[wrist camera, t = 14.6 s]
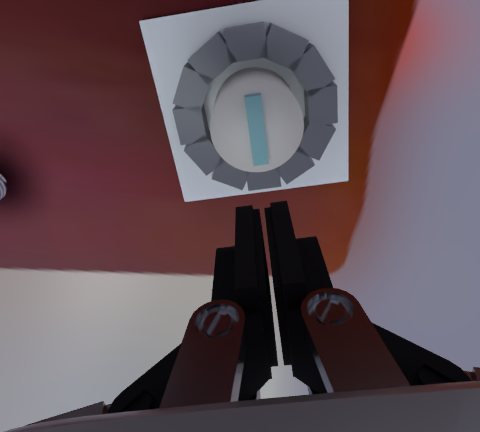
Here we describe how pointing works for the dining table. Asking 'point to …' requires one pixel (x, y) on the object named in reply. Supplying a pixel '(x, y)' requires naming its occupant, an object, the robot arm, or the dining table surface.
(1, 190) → the light bulb
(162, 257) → the dining table surface
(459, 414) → the robot arm
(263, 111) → the knob
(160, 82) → the segmented ring plate
